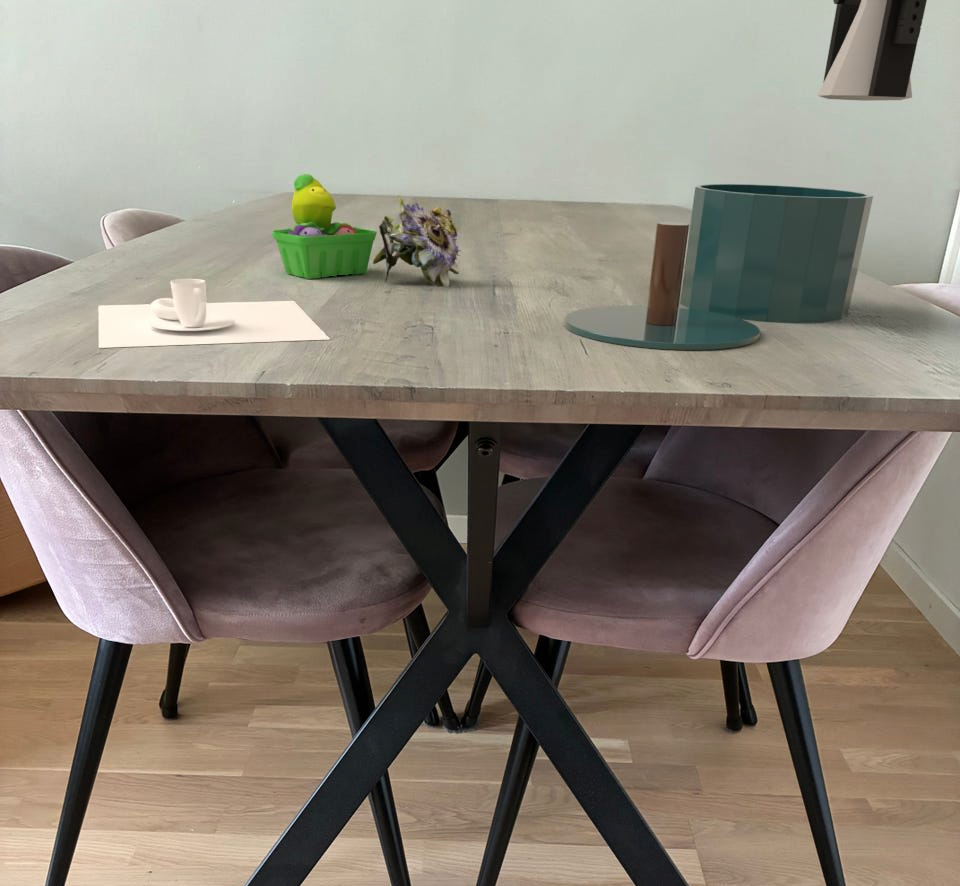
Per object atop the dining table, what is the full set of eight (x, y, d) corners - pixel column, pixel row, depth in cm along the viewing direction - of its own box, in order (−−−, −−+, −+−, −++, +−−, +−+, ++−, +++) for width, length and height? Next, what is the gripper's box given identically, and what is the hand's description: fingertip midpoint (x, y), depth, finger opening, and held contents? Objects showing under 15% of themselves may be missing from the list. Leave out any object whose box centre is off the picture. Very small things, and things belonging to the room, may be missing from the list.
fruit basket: (305, 281, 115) (299, 178, 110) (266, 272, 121) (259, 173, 116) (380, 274, 122) (379, 177, 117) (340, 265, 128) (337, 172, 122)
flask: (907, 102, 79) (937, -45, 74) (916, 100, 73) (949, -61, 68) (816, 100, 81) (839, -44, 76) (817, 98, 75) (843, -59, 70)
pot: (802, 298, 117) (823, 186, 111) (876, 329, 101) (906, 199, 95) (659, 297, 114) (673, 182, 108) (712, 328, 98) (732, 195, 92)
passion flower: (441, 334, 117) (440, 258, 106) (359, 310, 118) (350, 232, 108) (471, 270, 122) (473, 191, 111) (392, 247, 123) (386, 167, 112)
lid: (717, 317, 104) (732, 215, 99) (790, 357, 87) (812, 237, 82) (546, 316, 101) (553, 211, 96) (588, 356, 85) (599, 233, 80)
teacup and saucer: (145, 318, 93) (139, 273, 91) (229, 316, 95) (225, 272, 93) (149, 337, 85) (143, 289, 83) (239, 334, 88) (235, 287, 86)
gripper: (817, -245, 74) (765, 96, 85) (973, -353, 56) (882, 93, 67) (906, -236, 75) (844, 99, 86) (1086, -339, 57) (979, 97, 69)
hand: (861, 96), depth 77 cm, fingers closed on flask, 7 cm apart
